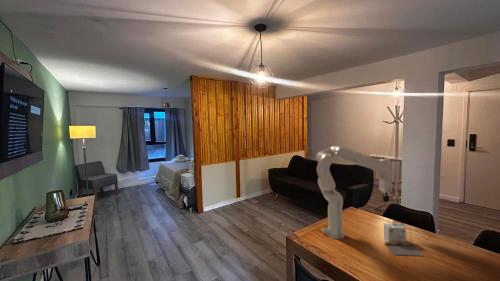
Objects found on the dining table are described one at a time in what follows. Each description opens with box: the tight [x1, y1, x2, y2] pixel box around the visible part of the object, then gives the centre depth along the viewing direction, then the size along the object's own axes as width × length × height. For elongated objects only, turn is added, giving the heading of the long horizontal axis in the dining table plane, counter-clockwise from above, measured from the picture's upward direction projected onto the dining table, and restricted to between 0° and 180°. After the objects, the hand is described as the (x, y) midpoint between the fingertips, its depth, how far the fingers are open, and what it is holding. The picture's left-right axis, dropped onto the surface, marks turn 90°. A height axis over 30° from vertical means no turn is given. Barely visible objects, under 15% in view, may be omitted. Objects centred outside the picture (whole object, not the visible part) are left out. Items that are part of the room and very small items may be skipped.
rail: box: [384, 241, 414, 247], centre depth 136 cm, size 16×2×2 cm, turn 81°
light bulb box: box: [383, 222, 407, 243], centre depth 141 cm, size 11×7×11 cm, turn 84°
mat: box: [385, 245, 424, 257], centre depth 130 cm, size 16×10×1 cm, turn 81°
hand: (385, 201), depth 153 cm, fingers closed
